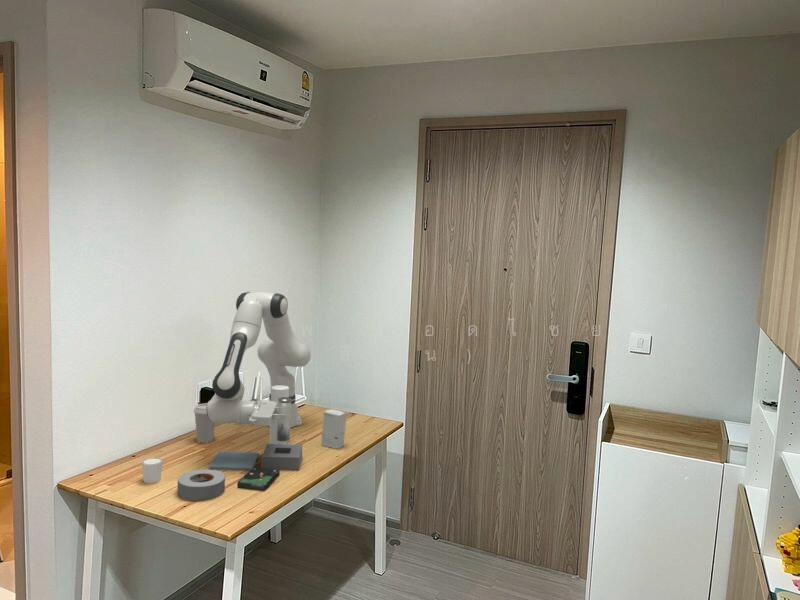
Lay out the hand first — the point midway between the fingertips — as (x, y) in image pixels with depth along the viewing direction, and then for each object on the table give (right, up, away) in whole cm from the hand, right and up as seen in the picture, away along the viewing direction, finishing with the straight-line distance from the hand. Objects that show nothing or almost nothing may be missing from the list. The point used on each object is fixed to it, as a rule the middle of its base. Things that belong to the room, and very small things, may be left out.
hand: (286, 413), depth 230 cm
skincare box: (+15, -18, +24) cm, 34 cm away
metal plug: (-1, -10, +1) cm, 10 cm away
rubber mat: (-20, -19, 0) cm, 27 cm away
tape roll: (-24, -22, -27) cm, 42 cm away
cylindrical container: (-7, -17, +20) cm, 28 cm away
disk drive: (-7, -22, -16) cm, 28 cm away
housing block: (-2, -19, +2) cm, 20 cm away
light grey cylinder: (-43, -20, -21) cm, 52 cm away
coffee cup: (-39, -16, +22) cm, 47 cm away
